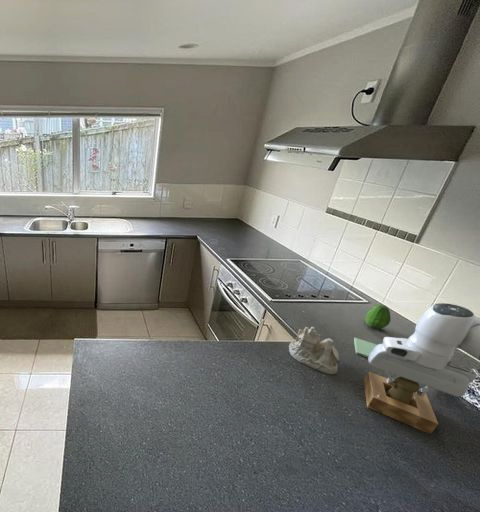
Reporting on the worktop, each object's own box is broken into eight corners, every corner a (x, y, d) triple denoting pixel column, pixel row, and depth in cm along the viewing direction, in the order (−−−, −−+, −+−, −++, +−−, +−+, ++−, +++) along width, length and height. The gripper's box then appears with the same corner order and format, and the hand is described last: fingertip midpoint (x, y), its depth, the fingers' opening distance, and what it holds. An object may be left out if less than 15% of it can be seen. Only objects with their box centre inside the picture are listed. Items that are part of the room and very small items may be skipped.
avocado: (358, 324, 132) (369, 302, 128) (367, 320, 135) (378, 299, 131) (379, 334, 126) (391, 311, 121) (388, 330, 129) (400, 308, 124)
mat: (391, 351, 115) (392, 349, 115) (397, 368, 106) (398, 366, 106) (353, 339, 122) (354, 337, 121) (355, 353, 113) (356, 352, 112)
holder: (419, 402, 92) (425, 392, 90) (430, 434, 82) (438, 423, 80) (363, 380, 100) (368, 371, 98) (367, 407, 89) (373, 397, 88)
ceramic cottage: (333, 378, 100) (348, 343, 95) (282, 354, 111) (292, 321, 106) (342, 361, 110) (355, 328, 105) (293, 340, 121) (304, 310, 116)
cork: (398, 415, 87) (415, 389, 83) (376, 399, 92) (391, 373, 88) (411, 411, 89) (428, 385, 84) (388, 395, 94) (404, 370, 90)
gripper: (475, 365, 79) (449, 400, 84) (377, 334, 91) (360, 367, 96) (484, 378, 74) (456, 414, 80) (380, 344, 86) (362, 378, 91)
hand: (403, 388), depth 88 cm, fingers closed on cork, 5 cm apart
